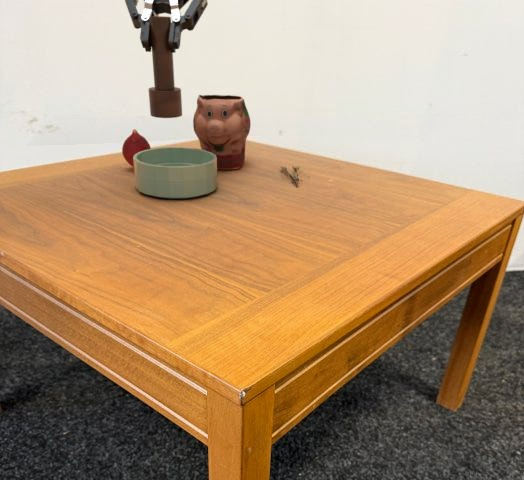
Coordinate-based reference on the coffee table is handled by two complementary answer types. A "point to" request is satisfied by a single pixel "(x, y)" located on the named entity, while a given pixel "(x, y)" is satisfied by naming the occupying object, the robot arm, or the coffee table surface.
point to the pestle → (163, 72)
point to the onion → (134, 146)
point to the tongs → (291, 174)
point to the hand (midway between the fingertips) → (159, 47)
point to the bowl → (175, 172)
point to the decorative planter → (222, 128)
